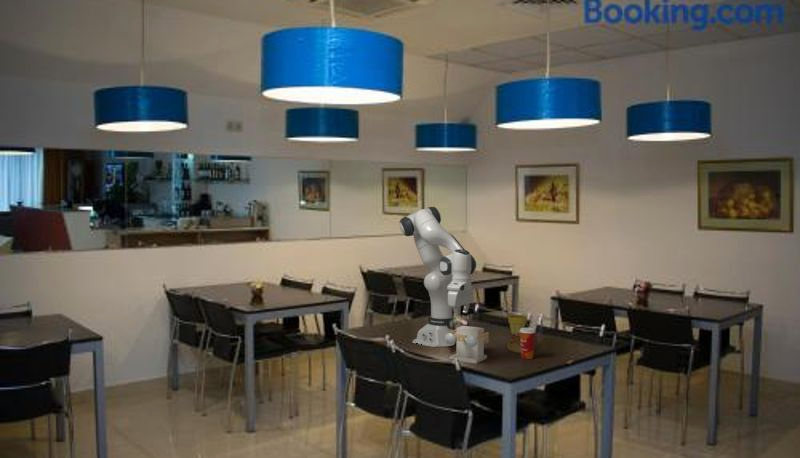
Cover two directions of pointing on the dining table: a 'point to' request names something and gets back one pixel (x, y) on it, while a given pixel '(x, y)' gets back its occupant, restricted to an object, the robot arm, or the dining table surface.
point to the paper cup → (527, 342)
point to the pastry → (515, 343)
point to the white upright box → (470, 353)
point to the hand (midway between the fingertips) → (461, 314)
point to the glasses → (470, 340)
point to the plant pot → (516, 322)
